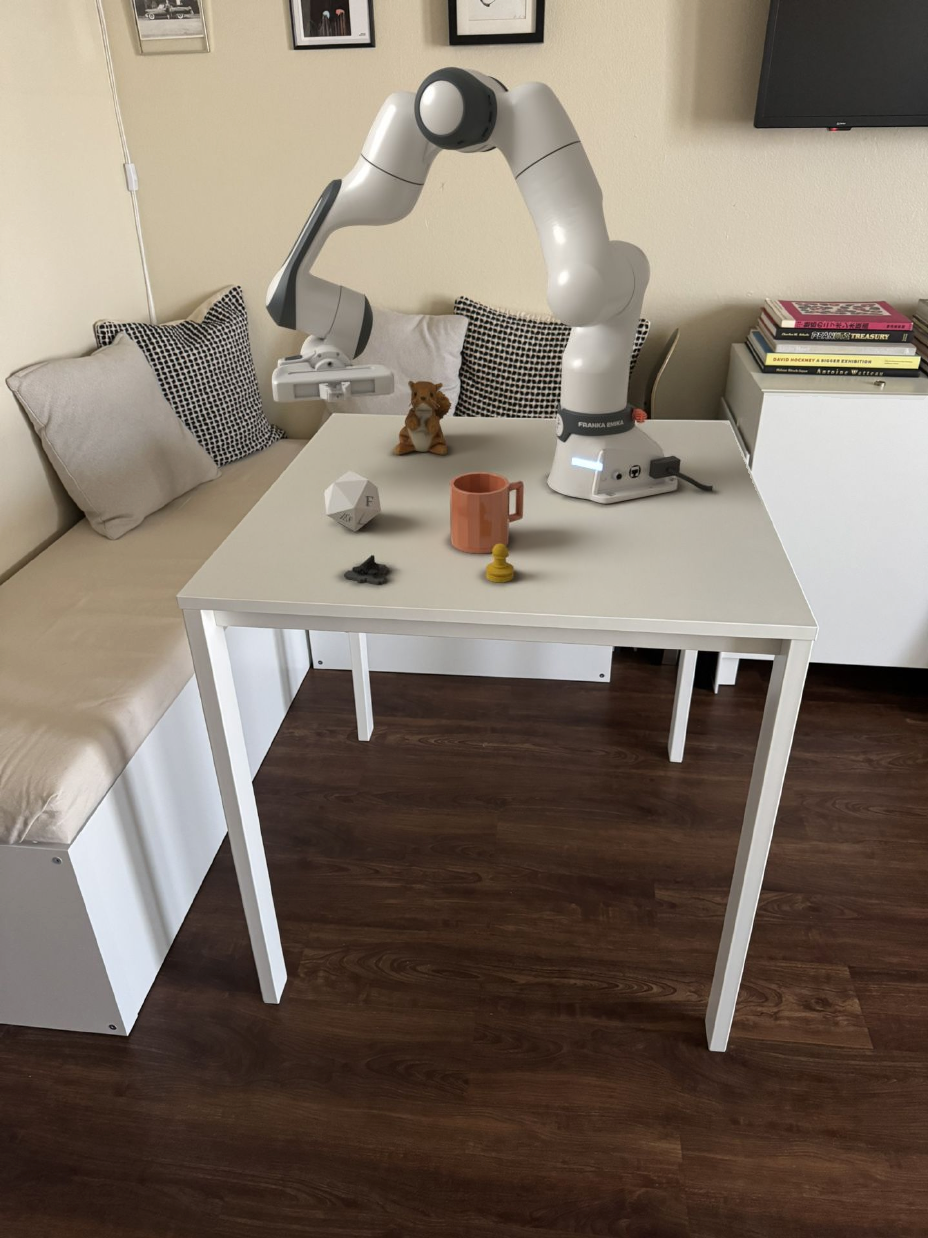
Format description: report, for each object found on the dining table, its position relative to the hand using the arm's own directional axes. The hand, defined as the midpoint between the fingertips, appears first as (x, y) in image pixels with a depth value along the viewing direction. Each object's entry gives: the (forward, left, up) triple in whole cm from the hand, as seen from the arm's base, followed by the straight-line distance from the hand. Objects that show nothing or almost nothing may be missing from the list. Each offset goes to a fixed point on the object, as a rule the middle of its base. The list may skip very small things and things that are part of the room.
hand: (337, 396), depth 144 cm
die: (0, +11, -18) cm, 21 cm away
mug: (-20, +21, -18) cm, 34 cm away
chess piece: (-18, +34, -18) cm, 42 cm away
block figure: (0, +29, -18) cm, 34 cm away
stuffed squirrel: (-18, -23, -18) cm, 34 cm away
